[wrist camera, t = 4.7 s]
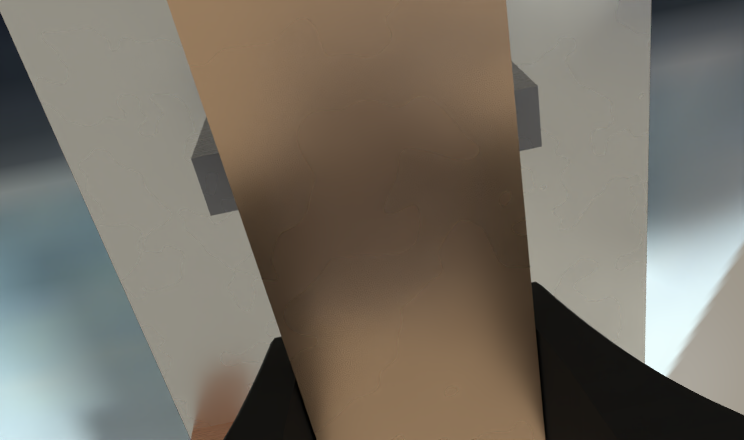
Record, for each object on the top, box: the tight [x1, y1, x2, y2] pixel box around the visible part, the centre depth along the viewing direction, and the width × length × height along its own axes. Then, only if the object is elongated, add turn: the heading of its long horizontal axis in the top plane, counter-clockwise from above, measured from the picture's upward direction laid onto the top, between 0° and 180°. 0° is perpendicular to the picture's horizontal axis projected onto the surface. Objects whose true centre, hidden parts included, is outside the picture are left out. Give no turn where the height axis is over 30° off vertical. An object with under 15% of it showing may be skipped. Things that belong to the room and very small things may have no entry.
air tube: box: [167, 0, 545, 440], centre depth 14 cm, size 18×4×4 cm, turn 11°
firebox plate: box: [0, 0, 651, 440], centre depth 21 cm, size 16×24×5 cm, turn 10°
